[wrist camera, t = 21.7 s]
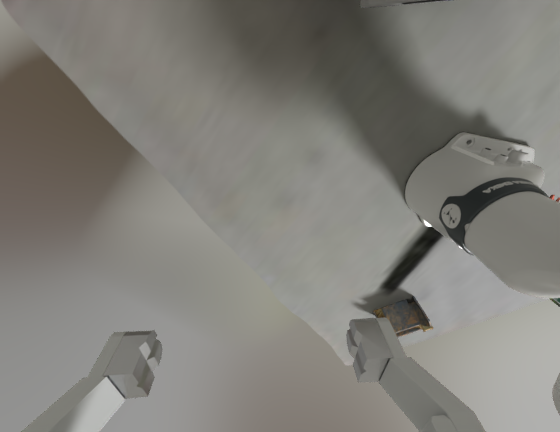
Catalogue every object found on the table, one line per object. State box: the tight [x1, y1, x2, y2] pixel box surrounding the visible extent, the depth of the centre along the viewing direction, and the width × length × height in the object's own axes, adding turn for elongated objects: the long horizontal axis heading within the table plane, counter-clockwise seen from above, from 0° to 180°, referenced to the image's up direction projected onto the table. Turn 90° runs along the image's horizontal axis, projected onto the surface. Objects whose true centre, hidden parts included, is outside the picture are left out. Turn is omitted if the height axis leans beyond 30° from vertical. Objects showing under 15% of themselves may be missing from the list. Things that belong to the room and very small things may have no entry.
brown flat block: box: [373, 296, 433, 338], centre depth 62 cm, size 11×3×10 cm, turn 119°
